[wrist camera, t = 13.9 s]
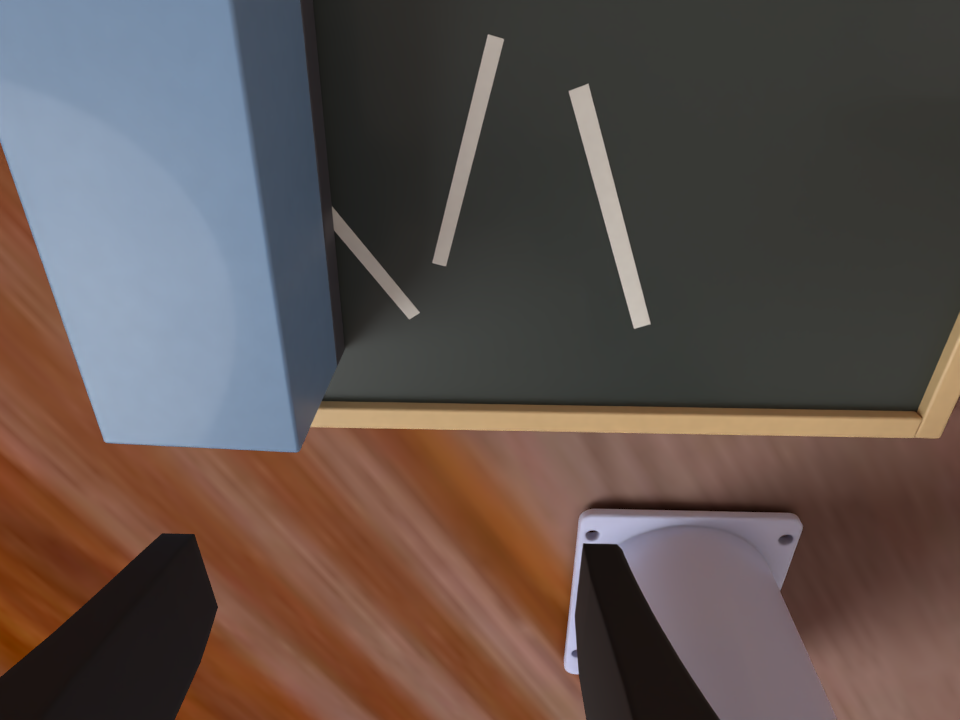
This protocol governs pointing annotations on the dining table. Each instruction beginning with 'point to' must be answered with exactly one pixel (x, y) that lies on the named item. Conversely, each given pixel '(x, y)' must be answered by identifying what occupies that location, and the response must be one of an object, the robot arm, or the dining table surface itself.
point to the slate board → (645, 215)
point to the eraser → (180, 210)
